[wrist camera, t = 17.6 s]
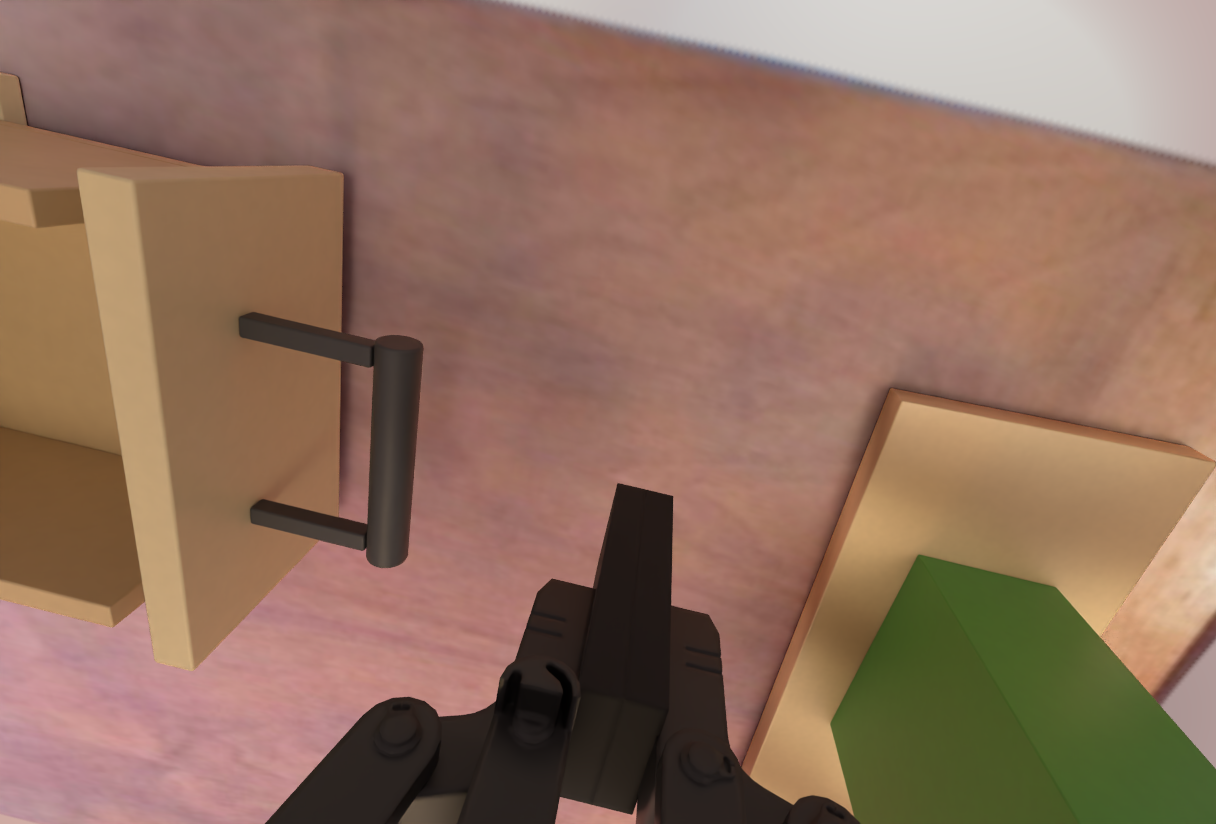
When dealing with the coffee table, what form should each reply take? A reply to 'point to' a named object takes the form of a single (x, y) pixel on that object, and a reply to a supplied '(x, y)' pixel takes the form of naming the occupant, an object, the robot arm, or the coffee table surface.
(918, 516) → the board
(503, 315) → the coffee table surface
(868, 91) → the coffee table surface
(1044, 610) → the tall green block
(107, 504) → the drawer
